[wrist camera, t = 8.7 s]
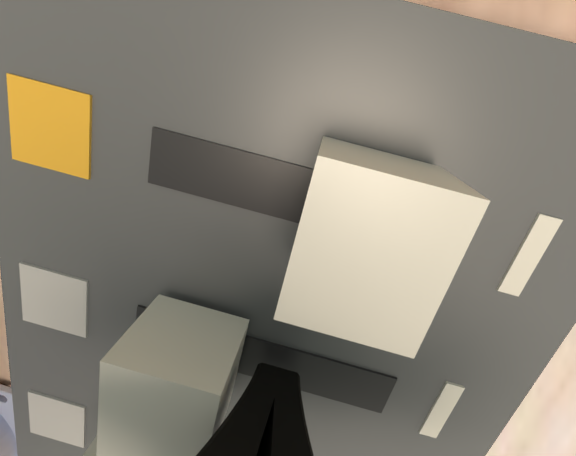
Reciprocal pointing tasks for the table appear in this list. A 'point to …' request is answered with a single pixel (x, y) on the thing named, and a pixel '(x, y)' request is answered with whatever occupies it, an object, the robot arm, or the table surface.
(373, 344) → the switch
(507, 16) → the table surface
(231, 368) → the middle switch
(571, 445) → the table surface
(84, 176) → the switch panel
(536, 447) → the table surface
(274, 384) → the robot arm
